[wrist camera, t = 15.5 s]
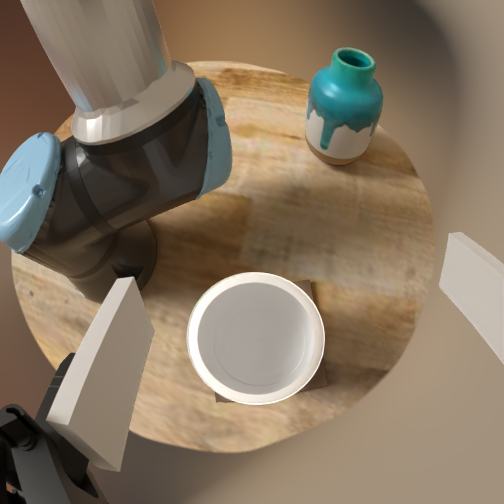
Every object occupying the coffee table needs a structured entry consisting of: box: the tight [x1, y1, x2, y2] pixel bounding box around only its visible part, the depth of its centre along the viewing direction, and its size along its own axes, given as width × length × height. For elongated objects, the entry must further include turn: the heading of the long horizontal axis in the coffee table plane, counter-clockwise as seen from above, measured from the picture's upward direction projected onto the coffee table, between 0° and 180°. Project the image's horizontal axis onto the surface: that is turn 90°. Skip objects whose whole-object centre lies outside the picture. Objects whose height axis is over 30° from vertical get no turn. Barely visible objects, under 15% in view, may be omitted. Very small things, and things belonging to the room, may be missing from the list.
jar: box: [187, 272, 325, 405], centre depth 28 cm, size 11×10×15 cm
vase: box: [305, 48, 383, 165], centre depth 37 cm, size 11×11×19 cm
